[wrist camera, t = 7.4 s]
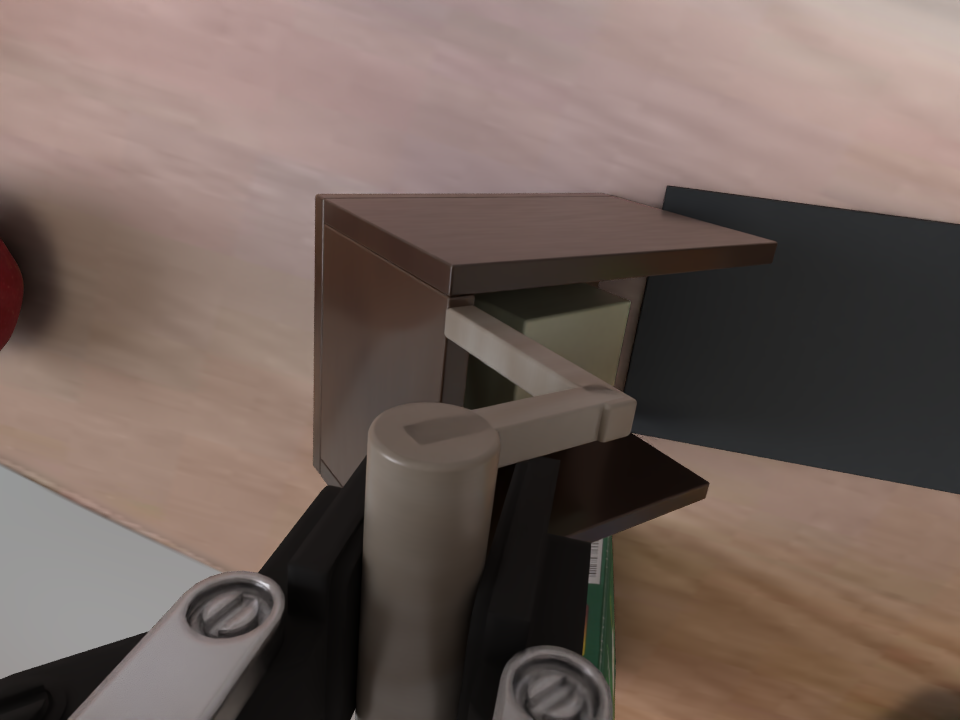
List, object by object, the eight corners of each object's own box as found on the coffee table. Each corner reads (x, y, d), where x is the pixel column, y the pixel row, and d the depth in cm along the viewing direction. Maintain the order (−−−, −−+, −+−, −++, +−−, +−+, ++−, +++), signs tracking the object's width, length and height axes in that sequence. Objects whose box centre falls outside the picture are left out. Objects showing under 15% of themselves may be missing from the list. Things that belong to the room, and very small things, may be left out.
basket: (172, 193, 15) (413, 412, 7) (602, 192, 22) (974, 296, 14) (194, 493, 18) (378, 896, 10) (565, 406, 25) (851, 595, 17)
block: (426, 273, 18) (525, 320, 16) (531, 261, 21) (632, 300, 18) (416, 403, 20) (505, 466, 17) (515, 377, 22) (606, 429, 20)
